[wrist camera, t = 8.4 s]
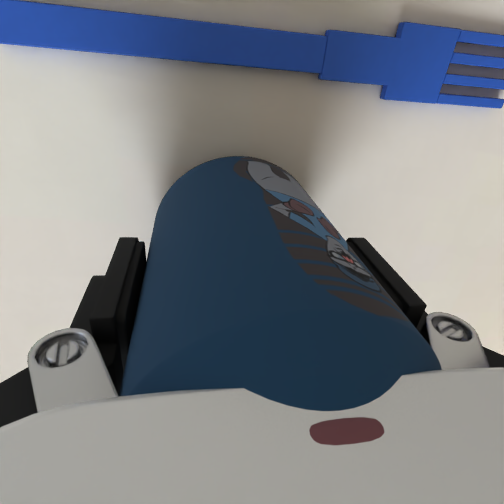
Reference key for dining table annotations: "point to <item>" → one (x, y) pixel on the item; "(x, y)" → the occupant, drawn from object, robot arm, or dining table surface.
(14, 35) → the blue fork
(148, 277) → the soda can
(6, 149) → the dining table surface
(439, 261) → the dining table surface
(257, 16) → the dining table surface
